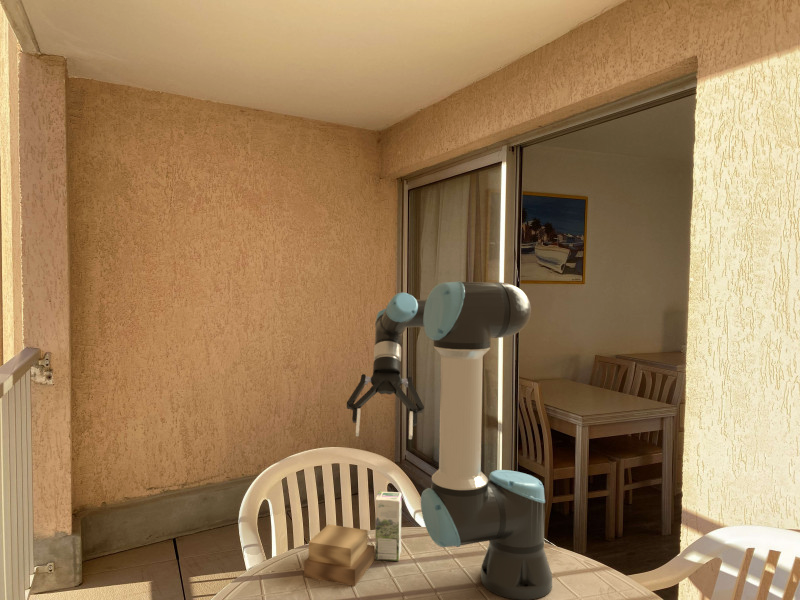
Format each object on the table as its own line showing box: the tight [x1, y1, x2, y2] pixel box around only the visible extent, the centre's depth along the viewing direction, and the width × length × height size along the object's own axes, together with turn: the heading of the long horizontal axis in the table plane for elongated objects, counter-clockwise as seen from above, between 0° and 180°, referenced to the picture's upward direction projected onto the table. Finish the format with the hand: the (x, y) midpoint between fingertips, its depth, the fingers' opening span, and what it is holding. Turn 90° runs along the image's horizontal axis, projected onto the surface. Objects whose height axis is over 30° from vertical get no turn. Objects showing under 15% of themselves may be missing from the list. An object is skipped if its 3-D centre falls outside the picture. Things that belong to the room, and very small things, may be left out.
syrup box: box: [374, 491, 402, 562], centre depth 135 cm, size 6×6×14 cm
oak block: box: [308, 524, 369, 567], centre depth 128 cm, size 10×10×4 cm
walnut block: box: [303, 544, 375, 587], centre depth 128 cm, size 12×12×4 cm
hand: (383, 436), depth 144 cm, fingers open, 13 cm apart
